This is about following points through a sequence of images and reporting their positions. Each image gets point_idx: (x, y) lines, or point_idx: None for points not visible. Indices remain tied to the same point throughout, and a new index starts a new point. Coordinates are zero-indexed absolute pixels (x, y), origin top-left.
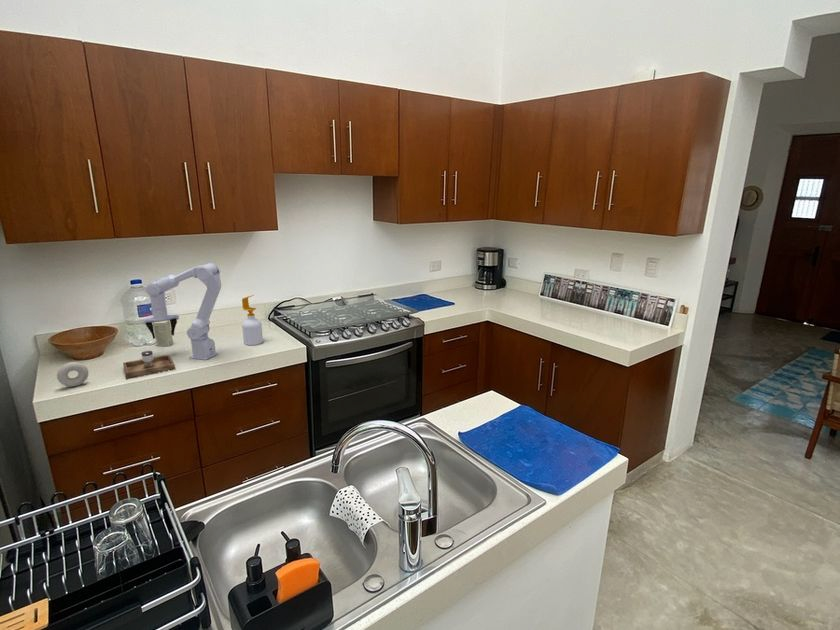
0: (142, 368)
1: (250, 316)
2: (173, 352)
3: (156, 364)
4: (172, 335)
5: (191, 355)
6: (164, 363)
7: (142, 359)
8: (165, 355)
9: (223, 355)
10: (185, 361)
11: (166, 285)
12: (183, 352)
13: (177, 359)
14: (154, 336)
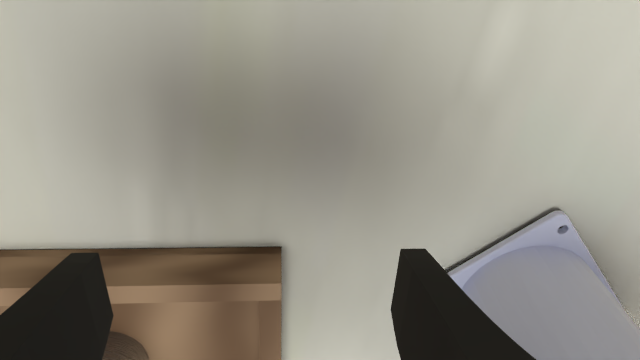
0: None
1: None
2: (348, 53)
3: (161, 325)
4: (392, 314)
5: (453, 276)
6: (223, 332)
7: (24, 291)
8: (241, 292)
9: None
10: (375, 334)
11: None
12: (436, 117)
13: (334, 270)
14: (94, 356)
